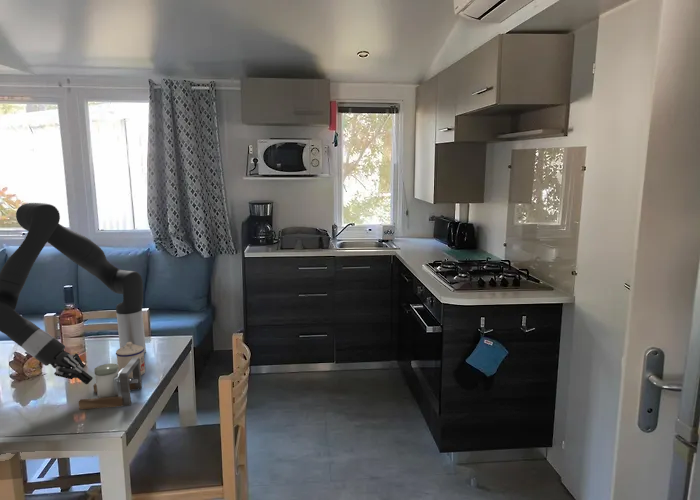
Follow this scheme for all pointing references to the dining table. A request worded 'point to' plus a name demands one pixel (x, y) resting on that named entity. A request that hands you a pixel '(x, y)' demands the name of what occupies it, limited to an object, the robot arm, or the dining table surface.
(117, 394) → the pusher
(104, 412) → the dining table surface
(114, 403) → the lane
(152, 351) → the dining table surface
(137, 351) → the teacup with lid
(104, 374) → the jar
